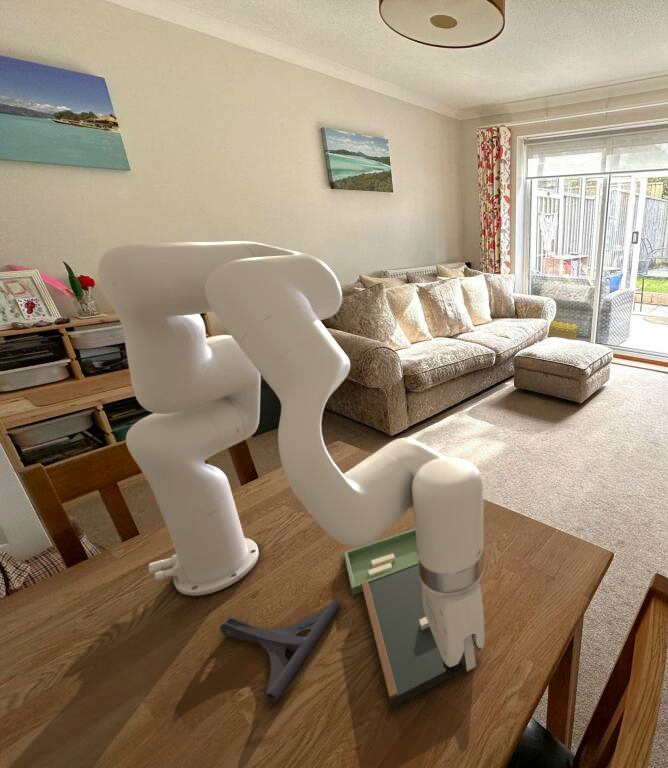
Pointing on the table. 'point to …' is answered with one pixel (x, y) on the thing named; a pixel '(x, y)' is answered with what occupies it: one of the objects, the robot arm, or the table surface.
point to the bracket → (283, 644)
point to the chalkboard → (403, 636)
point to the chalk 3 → (423, 623)
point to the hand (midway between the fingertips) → (456, 665)
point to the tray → (362, 556)
